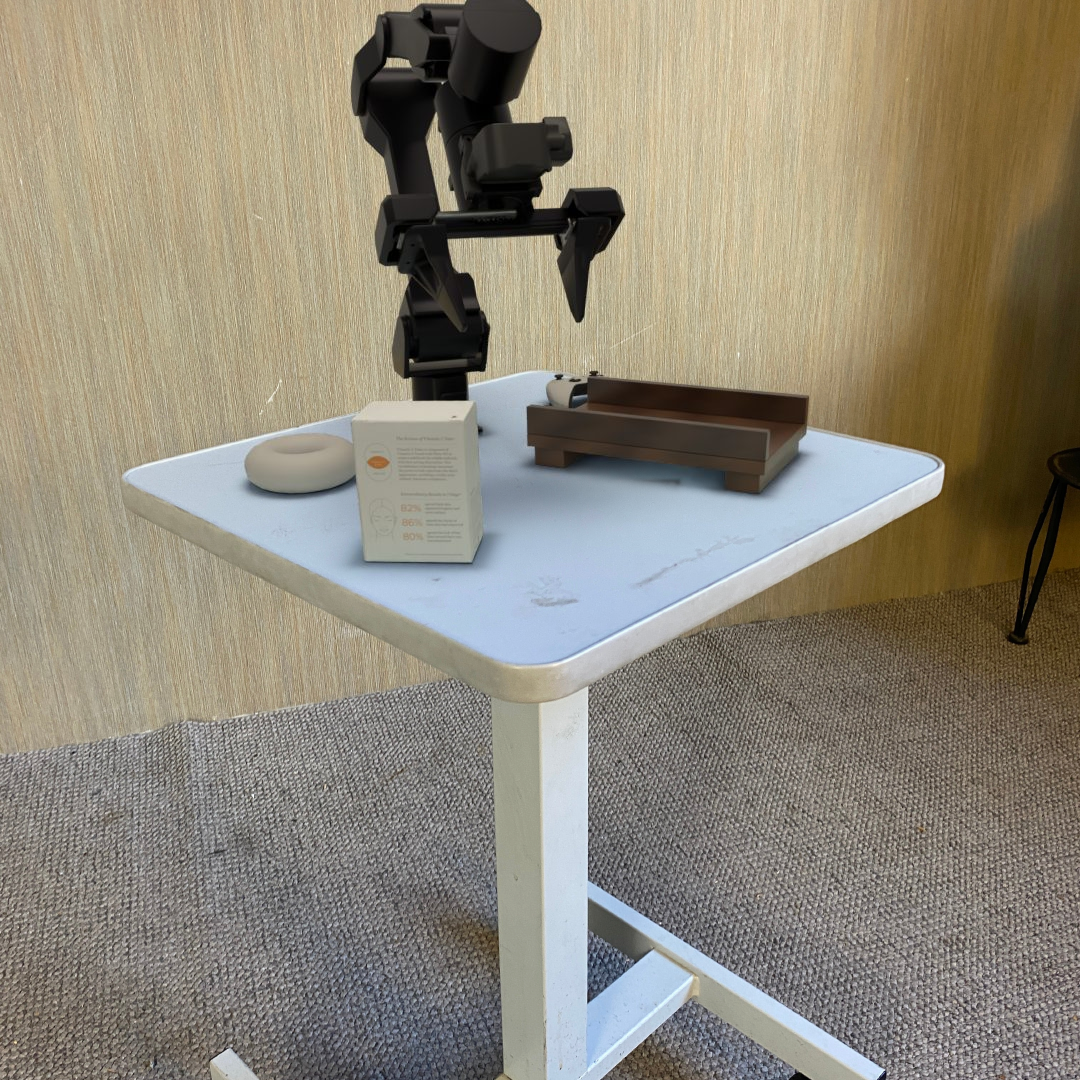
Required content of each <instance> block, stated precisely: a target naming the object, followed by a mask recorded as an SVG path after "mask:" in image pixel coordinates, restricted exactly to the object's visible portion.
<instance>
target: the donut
mask: <svg viewBox="0 0 1080 1080" xmlns="http://www.w3.org/2000/svg"><path fill="white" fill-rule="evenodd" d="M243 461H244V464H243V467H244V471H245V474H246V476H247V478H248V480H249V481H250V482H251V483H252V484H254V485H255V486H257V487H258V488H260V489H262V490H266V491H269V492H274V493H281V494H304V493H307V494H308V493H313V492H314V493H315V492H320V491H325V490H328V489H332V488H335V487H337V486H340V485H342V484H344V483H346V482H348V481H350V480H351V479H352V478H353V477H354V476H356V472H355V462H354V451H353V442H351V441H350V440H349V439H347V438H344V437H342V436H340V435H335V434H330V433H319V432H309V433H307V432H306V433H294V434H293V433H292V434H285V435H281V436H276V437H273V438H269V439H267V440H264V441H262V442H260V443H258V444H256V445H254V446H253V447H252V448H250V451H249V452H248V453H247V455H246V456H245V459H244V460H243Z"/></svg>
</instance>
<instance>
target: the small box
mask: <svg viewBox="0 0 1080 1080" xmlns="http://www.w3.org/2000/svg"><path fill="white" fill-rule="evenodd" d="M477 410H478V409H477V402H476V401H475V400H469V401H413V400H372V401H370V402H369V403H368V404H366V406H365V407H363V408H362V409H361V410H360V411H359V412H358V413H357V414H356V415H355V416H354V417H353V418H352V419H351V420H350V431H351V440H352V443H353V451H354V462H355V472H356V474H355V481H356V482H355V483H356V492H357V502H358V503H357V504H358V512H359V522H360V533H361V540H362V542H361V543H362V550H363V553H362V554H363V559H364V561H365V562H390V563H391V562H396V563H397V562H398V563H473V560H474V557H475V555H476V553H477V550H478V548H479V546H480V543H481V541H482V539H483V536H484V516H483V499H482V498H483V497H482V482H481V481H482V479H481V464H480V463H481V462H480V449H479V448H480V447H479V433H478V426H477V425H478V411H477Z"/></svg>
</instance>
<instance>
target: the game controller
mask: <svg viewBox="0 0 1080 1080" xmlns="http://www.w3.org/2000/svg"><path fill="white" fill-rule="evenodd" d="M588 373H589V374H585V375H581V376H572V377H564V376H565V374H562V373H557V374H555V375H554V376H553V377H554V378H555V379H552V380H550V381H548V382H547V384H546V386H545V393H546V398H547V400H548V402H549V403H550V404H551V406H552V407H562V408H571V409H572V407H573V400H574V397H581V396H587V378H588V377H590V376H598V377H606V376H605V375H604V374H599V370H590V371H589V372H588Z"/></svg>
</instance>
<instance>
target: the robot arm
mask: <svg viewBox="0 0 1080 1080" xmlns="http://www.w3.org/2000/svg"><path fill="white" fill-rule="evenodd" d="M542 30H543V25H542V17H541V16H540V13H539V12H538V11H536V9H535V8H534V7H533V5H531V3H529V1H527V0H465V2H464V3H436V2H435V3H431V2H430V3H429V2H421V3H419V4H417V5H416V6H415V7H414V8H413V9H412V10H410V11H398V10H397V11H391V10H389V11H388V10H387V11H385V12H384V13H378V15H377V17H376V20H375V27H374V33H373V35H372V36H371V37H370V38H369V39H368V40H367V41H366V43H364V45H363V46H362V47H361V48H360V49H359V50H358V51H357V52H356V54H354V57H353V64H352V73H351V80H350V104H351V109H352V110H351V111H352V113H353V116H354V117H358V121H359V124H360V129H361V131H362V135H363V139H364V140H365V142H366V143H367V144H368V145H369V146H370V147H371V148H372V149H374V150H375V152H377V154H379V155H380V157H381V158H382V159H383V162H384V167H385V171H386V177H387V181H388V186H389V191H390V194H386V195H385V197H384V198H383V200H382V201H381V202H380V205H379V211H378V214H377V220H376V224H375V230H374V246H375V252H376V256H377V262H378V264H380V265H382V266H383V267H396V269H397V272H398V273H399V274H400V275H407V281H408V283H407V285H406V288H405V290H404V294H403V297H402V301H401V304H400V307H399V310H398V316H397V318H396V324H395V328H394V334H393V339H392V345H391V357H392V366H393V371H394V372H395V373H396V374H397V375H398V376H400V378H402V380H407V379H408V380H409V379H411V381H410V382H411V396H412V401H470V391H469V373H477V372H479V373H485V372H486V369H487V365H488V355H489V339H490V334H491V324H489V322H488V319H487V316H486V313H485V311H484V310H482V309H481V305H480V303H479V298H478V296H477V290H476V283H475V280H474V277H472V275H471V273H470V272H467V271H466V272H465V271H464V272H459V271H458V270H457V269H456V268H455V267H454V265H453V262H452V256H451V252H450V248H449V240H462V239H463V240H465V239H480V238H481V239H485V240H487V239H488V240H489V239H507V238H524V237H525V238H526V237H544V236H545V237H547V236H548V237H549V236H553V240H554V243H555V248H556V249H557V250H558V251H560V253H559V254H558V257H557V259H556V263H557V267H558V268H557V269H558V271H559V275H560V278H561V283H562V285H563V289H564V293H565V296H566V297H565V298H566V301H567V304H568V307H569V310H570V313H571V316H572V318H573V319H574V322H575V323H576V324H579V323H580V324H581V323H582V322H583V320H584V318H585V315H586V305H587V296H588V286H589V277H590V269H591V263H592V261H594V259H595V257H596V255H598V254H600V253H603V252H604V251H606V250H607V248H608V246H609V245H610V243H611V241H612V239H613V237H614V236H615V234H616V232H617V231H618V229H619V227H620V225H621V223H622V222H623V220H624V219H625V217H626V215H627V214H626V211H625V207H624V204H623V203H624V202H623V200H622V195H620V193H619V192H618V191H617V190H616V189H615V188H613V187H610V186H597V187H595V186H594V187H569V189H568V191H567V192H566V195H565V197H564V199H563V201H562V203H561V205H560V207H546V208H534V207H535V206H534V202H533V199H535V198H540V197H541V194H542V192H543V189H544V185H543V182H542V177H543V176H544V175H545V174H546V173H551V172H552V171H553V168H557V167H558V168H559V167H560V168H561V167H564V166H565V165H566V164H567V163H568V162H570V161H571V159H573V154H574V145H573V135H572V132H571V128H570V125H569V122H568V120H567V117H566V116H544V117H543V118H542V119H541V121H539V122H513V117H512V113H511V109H510V105H509V103H511V102H513V101H514V100H517V99H518V98H519V97H520V95H521V92H522V90H523V88H524V87H523V86H524V84H525V81H526V78H527V76H528V72H529V70H530V67H531V64H532V61H533V58H534V56H535V53H536V50H537V47H538V43H539V41H540V39H541V35H542ZM388 59H400V60H405V61H408V63H409V66H386V65H387V62H388ZM435 116H436V117H437V131H438V133H439V134H441V138H442V143H443V147H444V152H445V156H446V161H447V165H448V170H449V175H448V178H447V183H448V188H449V191H450V192H453V193H454V196H455V200H456V205H457V210H443V211H442V209H441V206H440V205H441V204H440V201H439V196H438V195H439V194H438V191H437V186H436V182H435V177H434V171H433V167H432V162H431V157H430V153H429V148H428V141H429V138H430V135H431V132H432V128H433V124H434V119H435ZM410 360H412V362H410ZM477 426H478V434H482V433H483V432H484V428H483V426H481V425H479V424H477Z"/></svg>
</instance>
